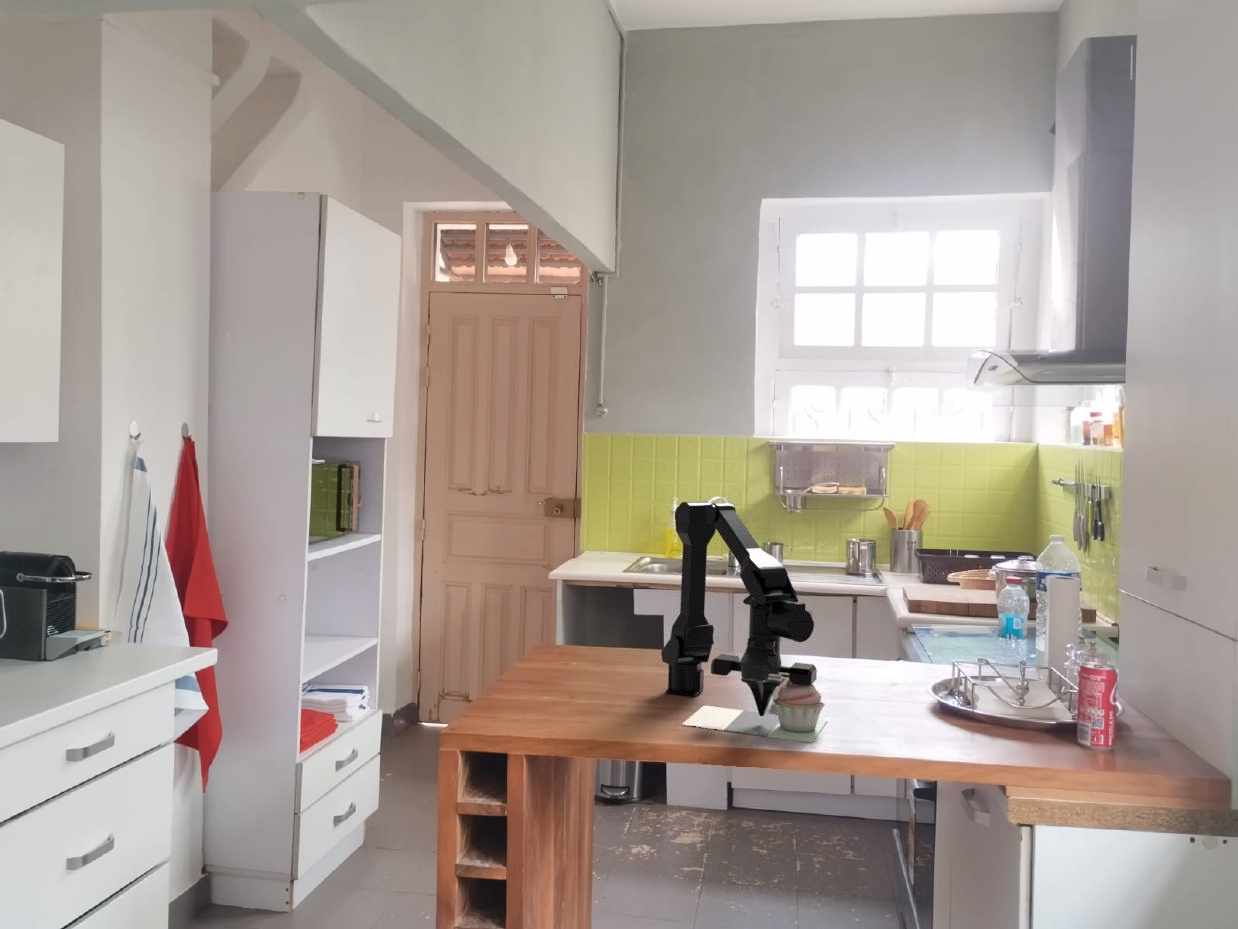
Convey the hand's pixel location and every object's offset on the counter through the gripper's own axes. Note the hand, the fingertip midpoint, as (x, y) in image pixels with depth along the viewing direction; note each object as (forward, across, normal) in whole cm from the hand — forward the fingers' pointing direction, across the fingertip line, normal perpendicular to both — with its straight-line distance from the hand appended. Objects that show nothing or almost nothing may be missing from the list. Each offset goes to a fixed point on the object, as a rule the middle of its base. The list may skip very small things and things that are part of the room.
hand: (762, 715), depth 180 cm
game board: (+2, -1, 0) cm, 2 cm away
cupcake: (+2, +7, 0) cm, 7 cm away
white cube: (+2, +2, +17) cm, 17 cm away
